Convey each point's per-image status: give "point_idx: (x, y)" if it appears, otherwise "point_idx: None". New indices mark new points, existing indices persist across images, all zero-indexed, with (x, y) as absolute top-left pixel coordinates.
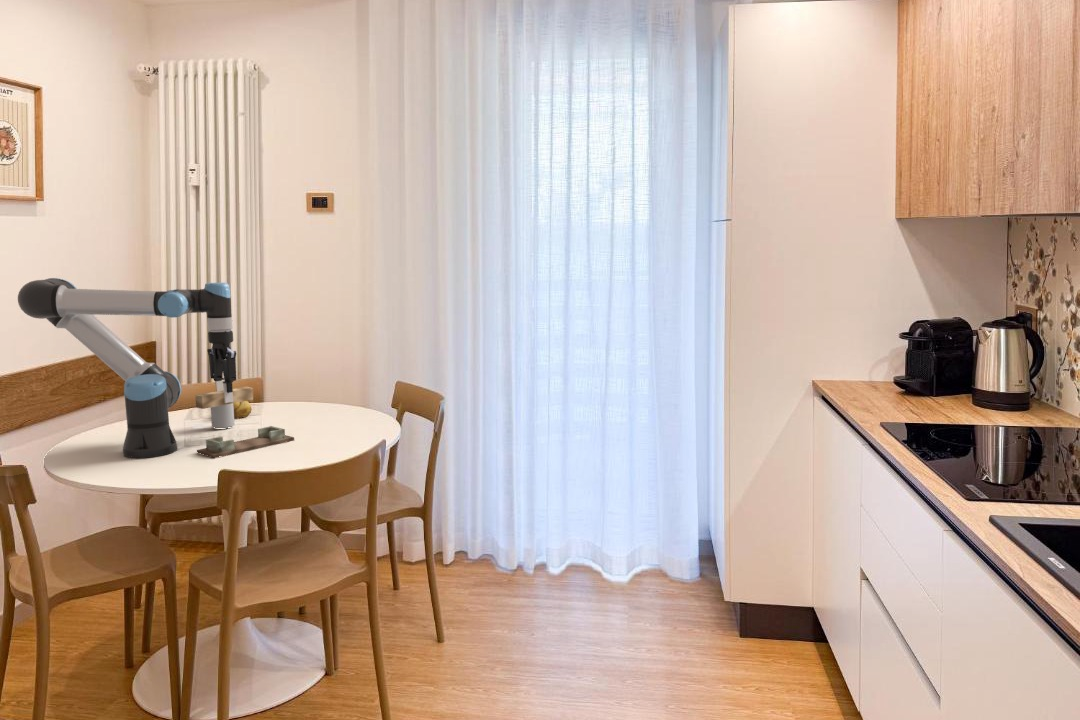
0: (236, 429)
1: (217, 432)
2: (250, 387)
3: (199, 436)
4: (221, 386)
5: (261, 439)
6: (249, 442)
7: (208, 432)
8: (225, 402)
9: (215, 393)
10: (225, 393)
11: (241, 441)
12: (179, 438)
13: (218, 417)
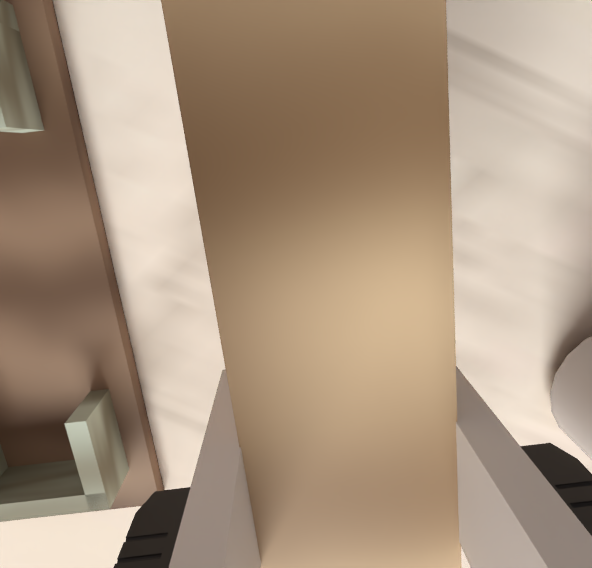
0: (498, 412)
1: (520, 305)
2: None
3: (513, 177)
4: (487, 558)
5: (52, 383)
6: (17, 300)
7: (569, 266)
8: (225, 373)
9: (286, 326)
10: (201, 453)
11: (79, 277)
12: (573, 49)
13: None
